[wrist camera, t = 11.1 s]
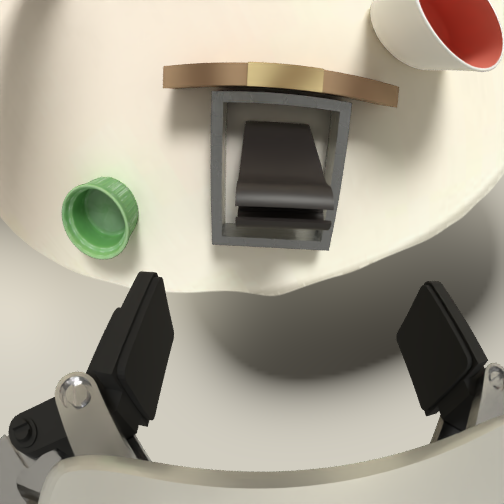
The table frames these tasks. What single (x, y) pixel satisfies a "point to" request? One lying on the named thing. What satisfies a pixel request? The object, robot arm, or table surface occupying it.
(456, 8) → the cup
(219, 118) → the frame
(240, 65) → the door edge rail
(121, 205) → the ramekin
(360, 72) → the table surface
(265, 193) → the phone stand
